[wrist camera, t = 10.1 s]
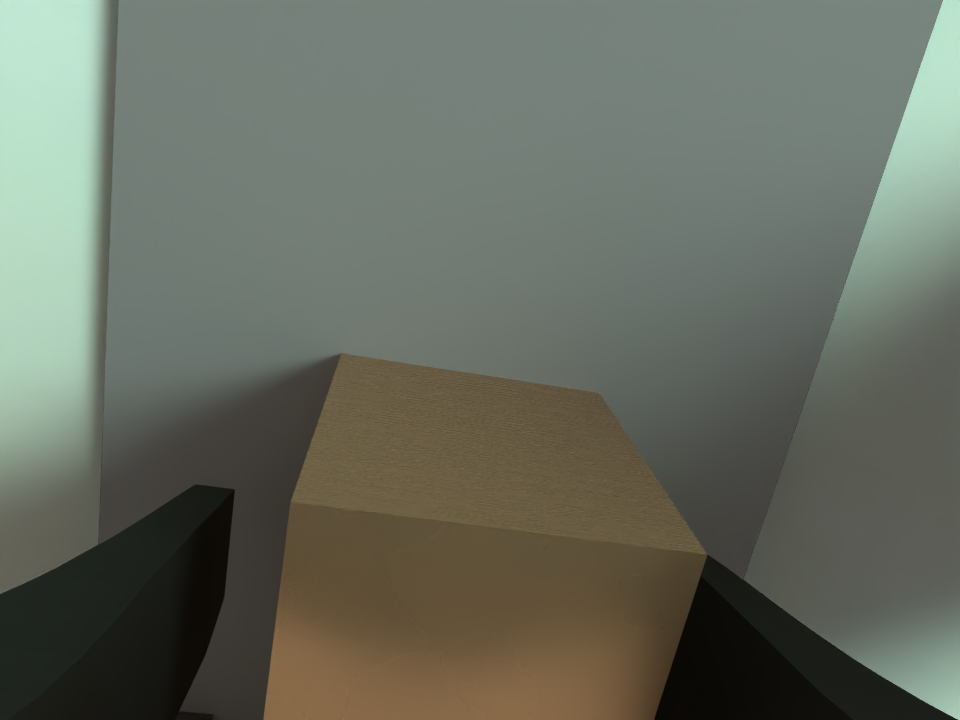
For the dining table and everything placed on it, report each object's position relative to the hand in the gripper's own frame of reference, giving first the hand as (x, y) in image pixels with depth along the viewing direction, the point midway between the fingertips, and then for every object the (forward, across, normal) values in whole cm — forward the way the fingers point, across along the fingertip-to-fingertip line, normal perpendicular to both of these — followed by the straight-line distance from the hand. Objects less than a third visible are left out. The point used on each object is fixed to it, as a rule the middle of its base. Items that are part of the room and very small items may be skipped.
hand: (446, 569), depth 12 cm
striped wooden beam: (+1, 0, +7) cm, 7 cm away
